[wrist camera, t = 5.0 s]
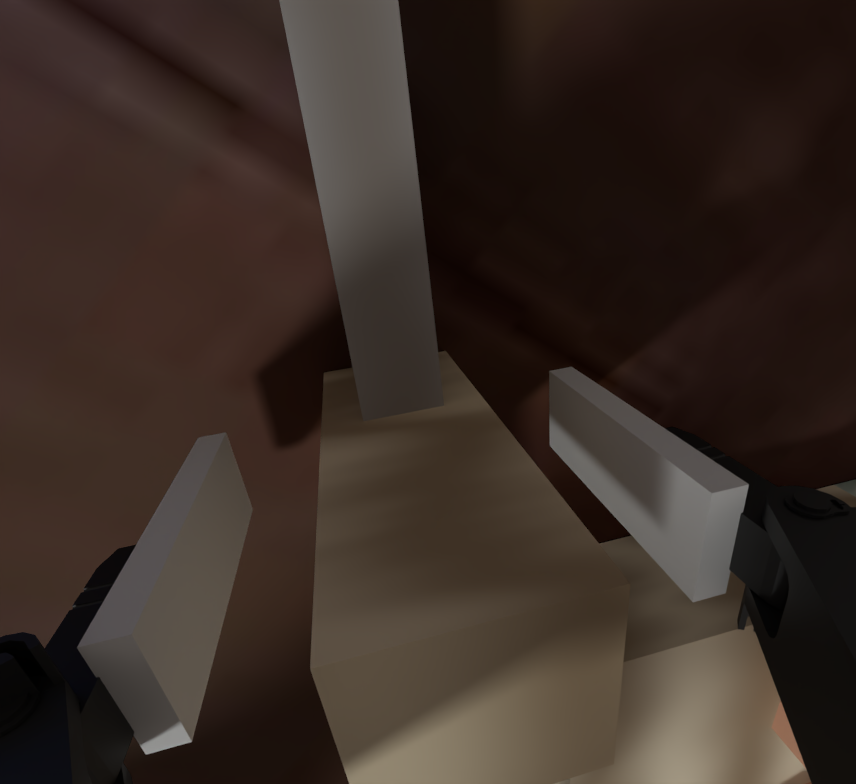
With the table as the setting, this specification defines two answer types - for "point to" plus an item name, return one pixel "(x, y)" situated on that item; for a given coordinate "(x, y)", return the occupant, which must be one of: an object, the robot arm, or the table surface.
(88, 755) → the robot arm
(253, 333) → the table surface
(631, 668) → the board
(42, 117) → the table surface
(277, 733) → the table surface
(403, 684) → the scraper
